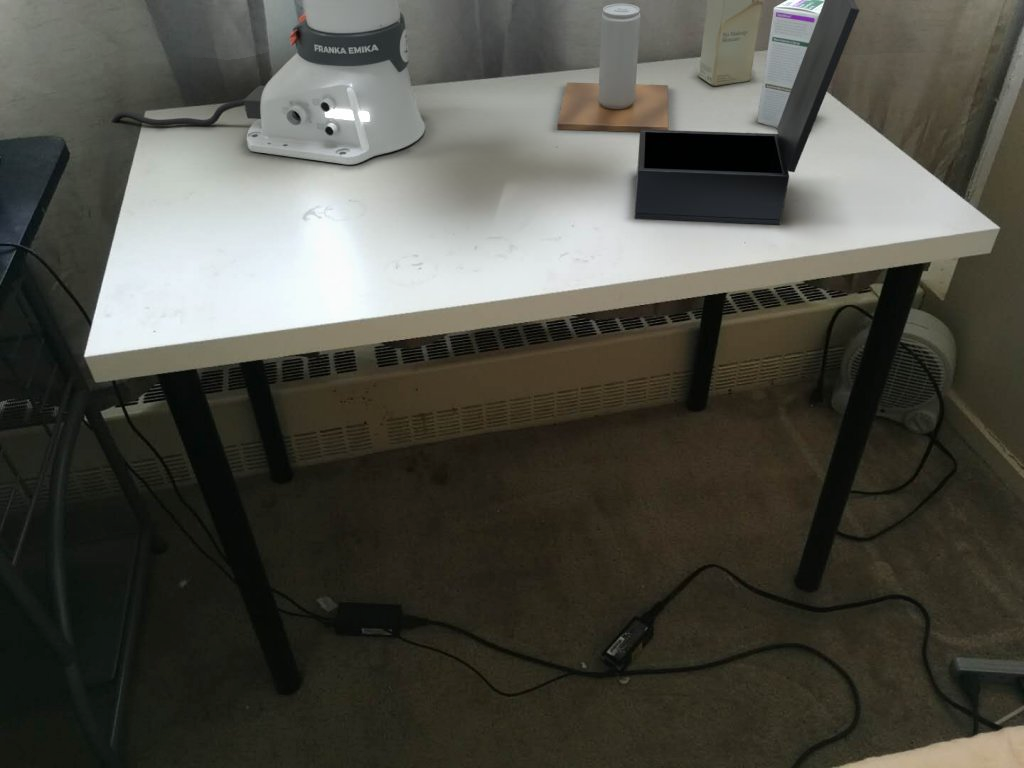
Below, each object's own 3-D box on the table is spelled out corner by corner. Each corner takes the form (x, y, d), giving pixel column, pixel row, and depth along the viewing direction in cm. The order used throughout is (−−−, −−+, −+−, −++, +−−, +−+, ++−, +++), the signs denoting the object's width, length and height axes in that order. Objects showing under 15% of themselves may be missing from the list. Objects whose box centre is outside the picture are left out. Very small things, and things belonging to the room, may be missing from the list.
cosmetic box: (712, 87, 120) (724, -5, 112) (696, 76, 123) (707, -14, 115) (752, 80, 121) (766, -11, 113) (735, 70, 124) (748, -20, 116)
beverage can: (604, 94, 116) (608, 1, 109) (638, 99, 115) (645, 5, 107) (593, 108, 113) (596, 13, 105) (628, 112, 112) (634, 16, 104)
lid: (851, 8, 76) (859, 9, 76) (833, -25, 84) (841, -23, 84) (786, 171, 87) (794, 172, 87) (776, 128, 94) (783, 130, 94)
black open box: (634, 218, 92) (638, 170, 89) (636, 175, 100) (640, 129, 96) (779, 225, 90) (789, 176, 87) (770, 180, 98) (779, 133, 95)
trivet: (557, 129, 110) (557, 123, 110) (566, 87, 121) (566, 82, 120) (667, 133, 108) (668, 127, 108) (667, 90, 119) (668, 84, 119)
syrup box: (798, 133, 107) (822, 12, 98) (754, 122, 110) (773, 4, 101) (816, 118, 111) (841, -1, 101) (773, 108, 114) (793, -8, 104)
